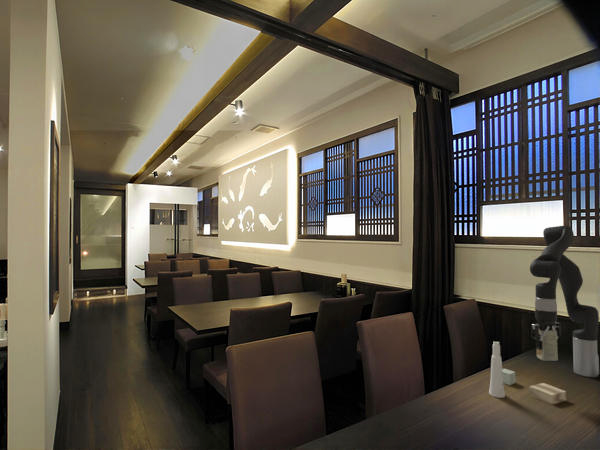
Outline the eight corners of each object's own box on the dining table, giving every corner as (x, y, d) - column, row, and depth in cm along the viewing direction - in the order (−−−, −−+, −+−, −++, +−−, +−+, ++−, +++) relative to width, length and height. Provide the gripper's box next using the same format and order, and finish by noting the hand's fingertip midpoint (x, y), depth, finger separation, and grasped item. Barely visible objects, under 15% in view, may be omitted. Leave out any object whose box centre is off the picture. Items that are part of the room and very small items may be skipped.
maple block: (543, 392, 152) (543, 382, 152) (566, 401, 143) (565, 391, 143) (529, 395, 148) (529, 386, 148) (551, 405, 140) (551, 395, 140)
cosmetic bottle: (488, 396, 147) (488, 343, 148) (488, 390, 152) (488, 339, 153) (505, 399, 144) (504, 345, 145) (504, 393, 150) (504, 341, 150)
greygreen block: (504, 379, 165) (504, 368, 165) (515, 383, 160) (515, 371, 161) (498, 381, 162) (498, 370, 162) (509, 385, 158) (509, 374, 158)
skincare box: (551, 357, 148) (551, 328, 149) (558, 361, 144) (557, 331, 144) (535, 356, 149) (535, 327, 149) (541, 360, 145) (541, 330, 145)
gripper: (550, 306, 153) (550, 344, 152) (524, 307, 149) (525, 347, 148) (567, 309, 145) (568, 349, 145) (541, 311, 141) (541, 352, 141)
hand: (546, 348), depth 146 cm, fingers closed on skincare box, 7 cm apart
